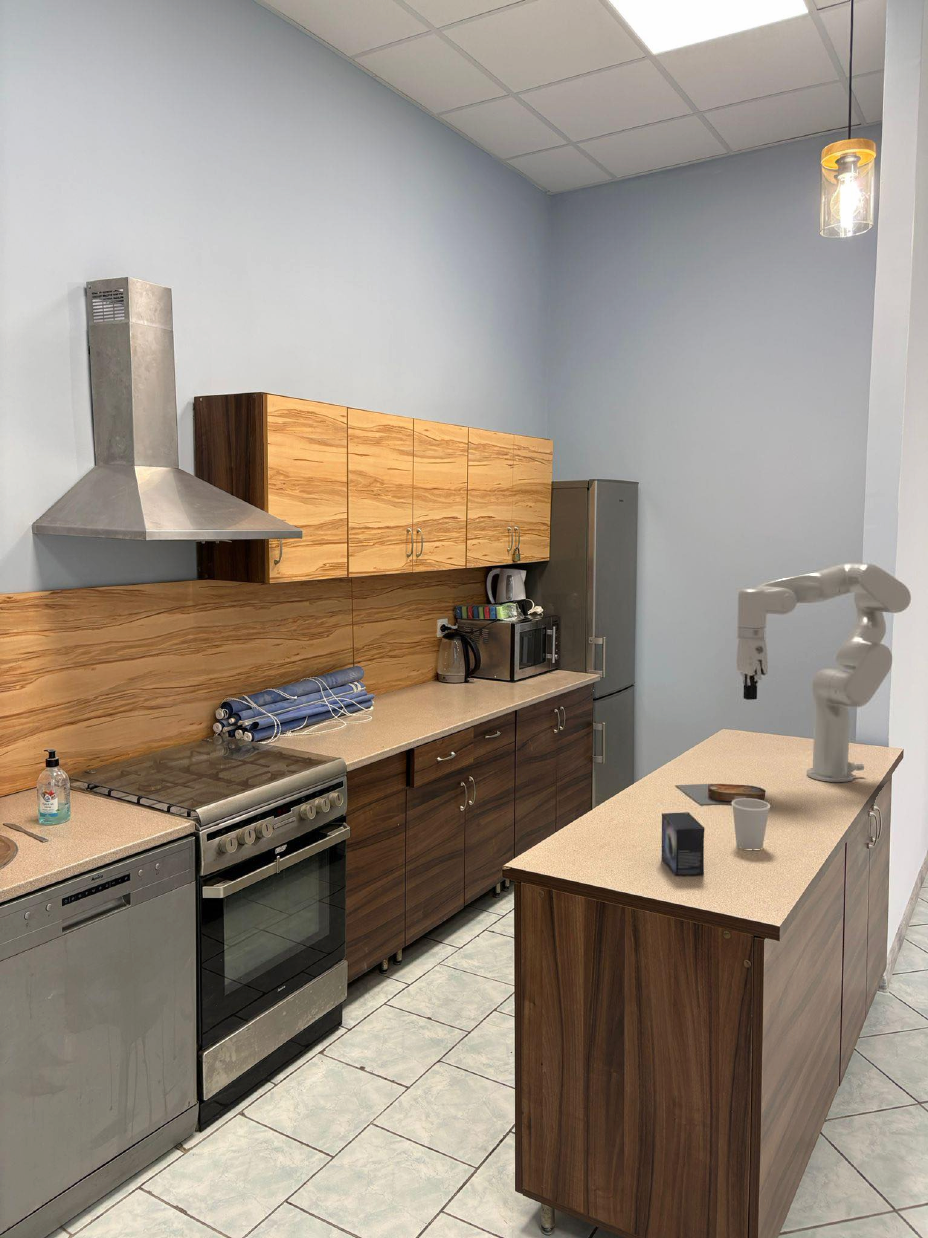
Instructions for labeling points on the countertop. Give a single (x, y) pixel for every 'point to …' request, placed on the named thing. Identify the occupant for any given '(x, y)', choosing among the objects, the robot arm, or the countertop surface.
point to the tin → (735, 792)
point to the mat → (700, 794)
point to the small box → (683, 844)
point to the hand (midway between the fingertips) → (750, 698)
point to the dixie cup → (750, 822)
